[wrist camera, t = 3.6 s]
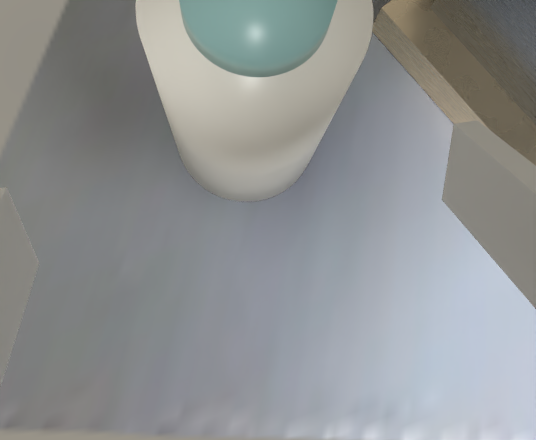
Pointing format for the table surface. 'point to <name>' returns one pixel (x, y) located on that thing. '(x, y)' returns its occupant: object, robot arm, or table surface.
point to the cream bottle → (252, 83)
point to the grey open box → (470, 60)
